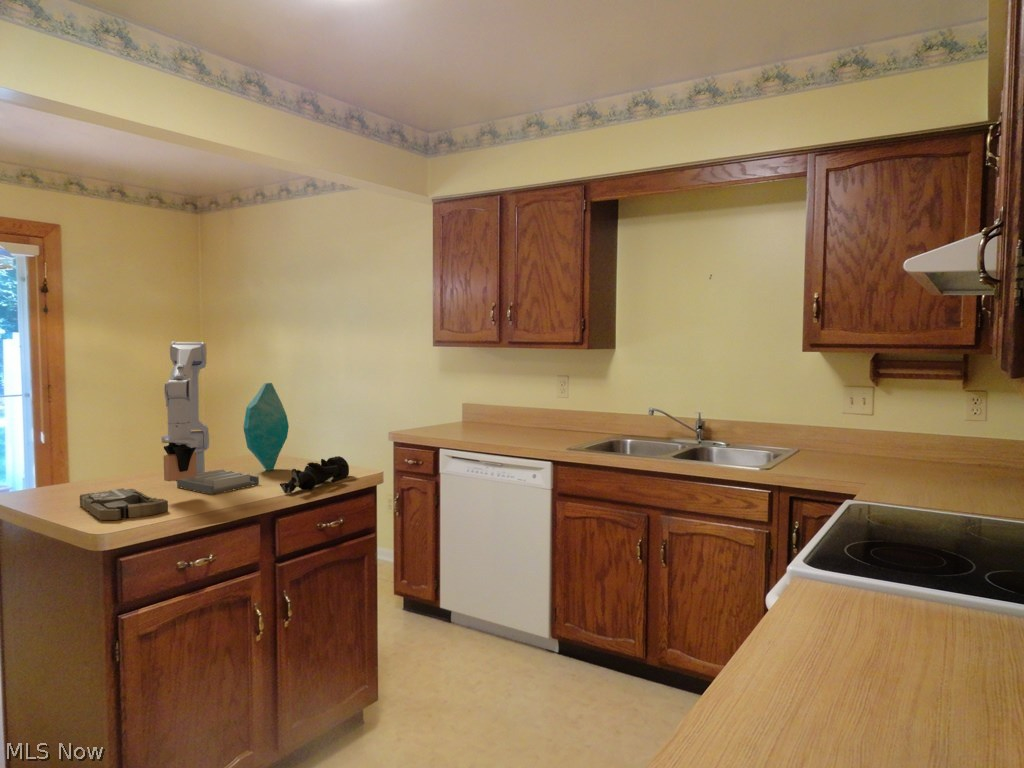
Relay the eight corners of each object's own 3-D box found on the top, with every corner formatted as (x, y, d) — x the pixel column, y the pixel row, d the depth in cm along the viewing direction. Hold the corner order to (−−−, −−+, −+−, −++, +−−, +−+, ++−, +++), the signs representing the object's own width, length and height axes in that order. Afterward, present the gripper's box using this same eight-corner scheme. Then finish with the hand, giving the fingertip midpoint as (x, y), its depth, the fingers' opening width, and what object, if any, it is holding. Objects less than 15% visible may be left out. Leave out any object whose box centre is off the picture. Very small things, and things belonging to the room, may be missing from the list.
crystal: (241, 469, 224) (239, 382, 222) (281, 465, 232) (280, 381, 230) (252, 475, 214) (251, 384, 212) (294, 470, 223) (292, 383, 221)
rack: (177, 487, 196) (176, 475, 196) (224, 478, 210) (224, 467, 210) (211, 494, 187) (211, 482, 187) (258, 484, 201) (258, 473, 201)
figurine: (277, 496, 190) (274, 468, 190) (339, 476, 218) (337, 452, 218) (301, 495, 187) (298, 468, 187) (361, 475, 215) (358, 451, 215)
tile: (164, 480, 180) (163, 455, 180) (191, 475, 187) (190, 451, 187) (169, 481, 179) (168, 456, 179) (196, 476, 186) (196, 452, 185)
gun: (140, 484, 185) (78, 493, 174) (169, 499, 168) (103, 510, 157) (140, 497, 185) (79, 507, 174) (170, 514, 168) (103, 525, 157)
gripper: (150, 422, 182) (151, 469, 183) (180, 426, 175) (181, 475, 176) (174, 419, 188) (175, 465, 189) (204, 423, 181) (205, 471, 182)
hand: (180, 470), depth 183 cm, fingers closed on tile, 2 cm apart
